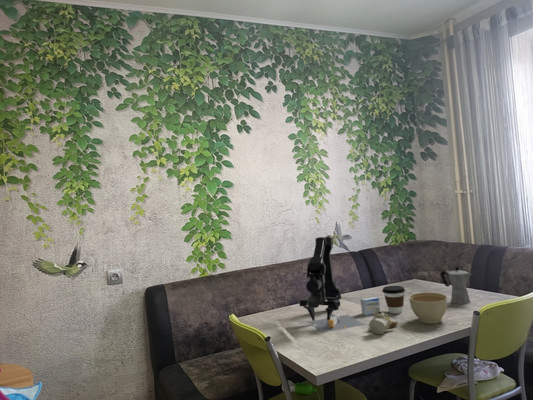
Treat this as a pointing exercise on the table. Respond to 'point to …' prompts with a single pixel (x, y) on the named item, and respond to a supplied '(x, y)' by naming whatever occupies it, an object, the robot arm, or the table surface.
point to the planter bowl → (428, 306)
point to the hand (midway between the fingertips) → (321, 321)
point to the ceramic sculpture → (381, 323)
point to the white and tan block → (333, 320)
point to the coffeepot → (458, 285)
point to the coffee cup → (394, 298)
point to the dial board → (344, 323)
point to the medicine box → (370, 306)
